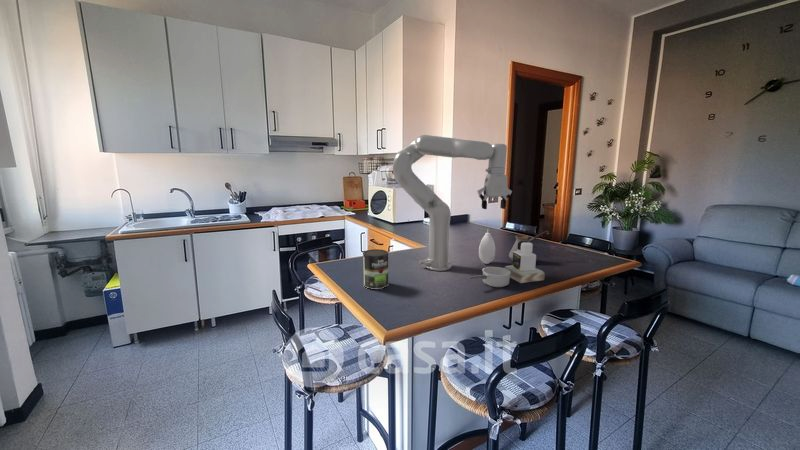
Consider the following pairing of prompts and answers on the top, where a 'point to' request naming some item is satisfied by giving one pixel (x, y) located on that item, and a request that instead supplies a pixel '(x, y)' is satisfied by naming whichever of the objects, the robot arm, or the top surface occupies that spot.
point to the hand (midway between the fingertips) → (493, 208)
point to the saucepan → (494, 276)
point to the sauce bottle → (487, 249)
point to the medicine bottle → (524, 257)
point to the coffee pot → (521, 238)
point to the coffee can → (375, 268)
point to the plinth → (525, 275)
